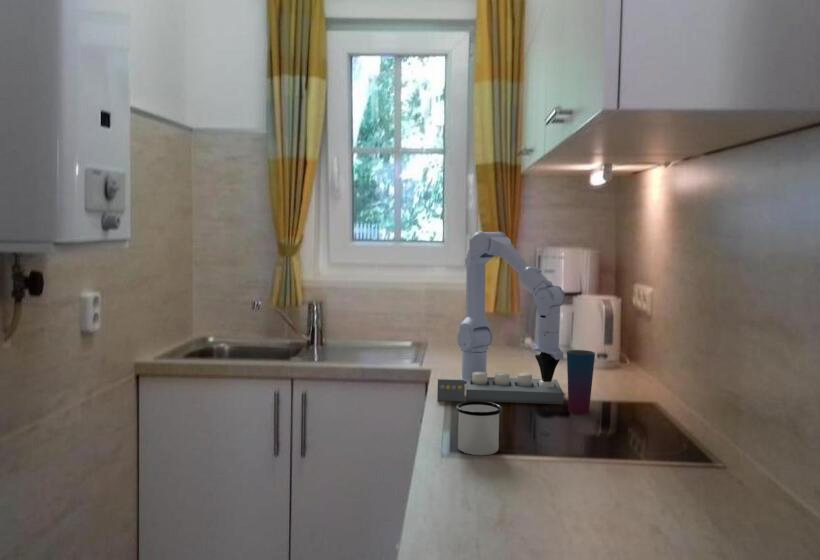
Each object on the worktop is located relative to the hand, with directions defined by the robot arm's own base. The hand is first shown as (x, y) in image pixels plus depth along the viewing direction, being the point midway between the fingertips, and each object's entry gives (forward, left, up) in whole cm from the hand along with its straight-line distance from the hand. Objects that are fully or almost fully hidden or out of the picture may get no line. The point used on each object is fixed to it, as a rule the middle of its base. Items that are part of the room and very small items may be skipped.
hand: (546, 381), depth 203 cm
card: (+9, -26, -4) cm, 27 cm away
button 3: (0, -6, -2) cm, 6 cm away
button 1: (0, -18, -2) cm, 18 cm away
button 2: (0, -12, -2) cm, 12 cm away
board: (0, -9, -4) cm, 10 cm away
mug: (+48, -19, -4) cm, 52 cm away
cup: (+15, +6, -4) cm, 17 cm away
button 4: (0, 0, -3) cm, 3 cm away
